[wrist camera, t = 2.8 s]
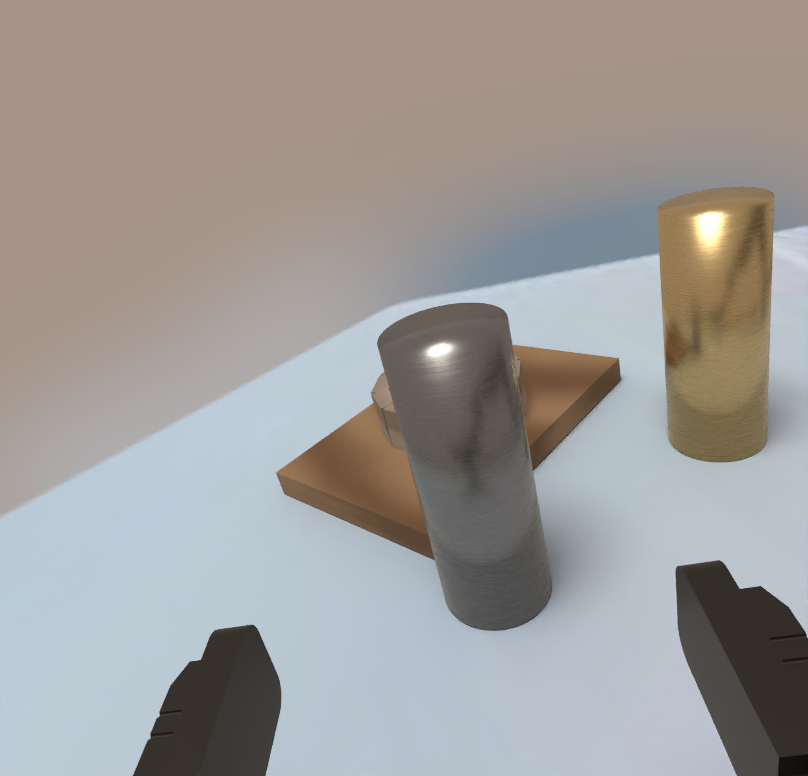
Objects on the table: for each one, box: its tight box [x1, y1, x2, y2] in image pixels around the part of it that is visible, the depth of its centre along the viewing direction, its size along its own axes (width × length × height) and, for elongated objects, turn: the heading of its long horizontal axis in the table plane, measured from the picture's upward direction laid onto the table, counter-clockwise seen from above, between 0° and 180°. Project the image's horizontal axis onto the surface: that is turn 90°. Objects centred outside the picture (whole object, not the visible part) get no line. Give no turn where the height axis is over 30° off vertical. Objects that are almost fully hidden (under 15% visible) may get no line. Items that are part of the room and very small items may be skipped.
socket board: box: [276, 345, 621, 560], centre depth 38 cm, size 18×12×4 cm, turn 138°
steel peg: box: [377, 303, 552, 630], centre depth 24 cm, size 4×4×12 cm
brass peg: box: [657, 187, 774, 462], centre depth 30 cm, size 4×4×12 cm
